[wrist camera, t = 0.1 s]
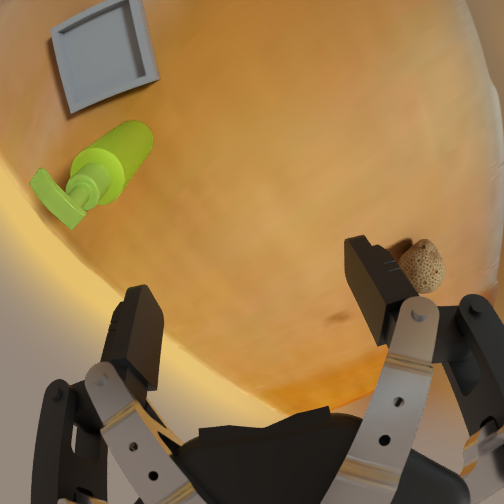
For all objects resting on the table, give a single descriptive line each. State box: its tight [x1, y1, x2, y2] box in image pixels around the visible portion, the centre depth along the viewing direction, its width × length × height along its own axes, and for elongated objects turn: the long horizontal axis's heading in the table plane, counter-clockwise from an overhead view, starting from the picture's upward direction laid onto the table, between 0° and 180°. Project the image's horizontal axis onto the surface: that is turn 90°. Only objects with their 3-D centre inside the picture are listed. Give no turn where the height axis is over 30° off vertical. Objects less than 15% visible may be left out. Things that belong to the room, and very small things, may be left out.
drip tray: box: [50, 0, 160, 114], centre depth 26 cm, size 13×12×2 cm
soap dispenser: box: [30, 120, 154, 230], centre depth 26 cm, size 6×7×20 cm
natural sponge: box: [398, 239, 445, 294], centre depth 46 cm, size 9×9×10 cm
